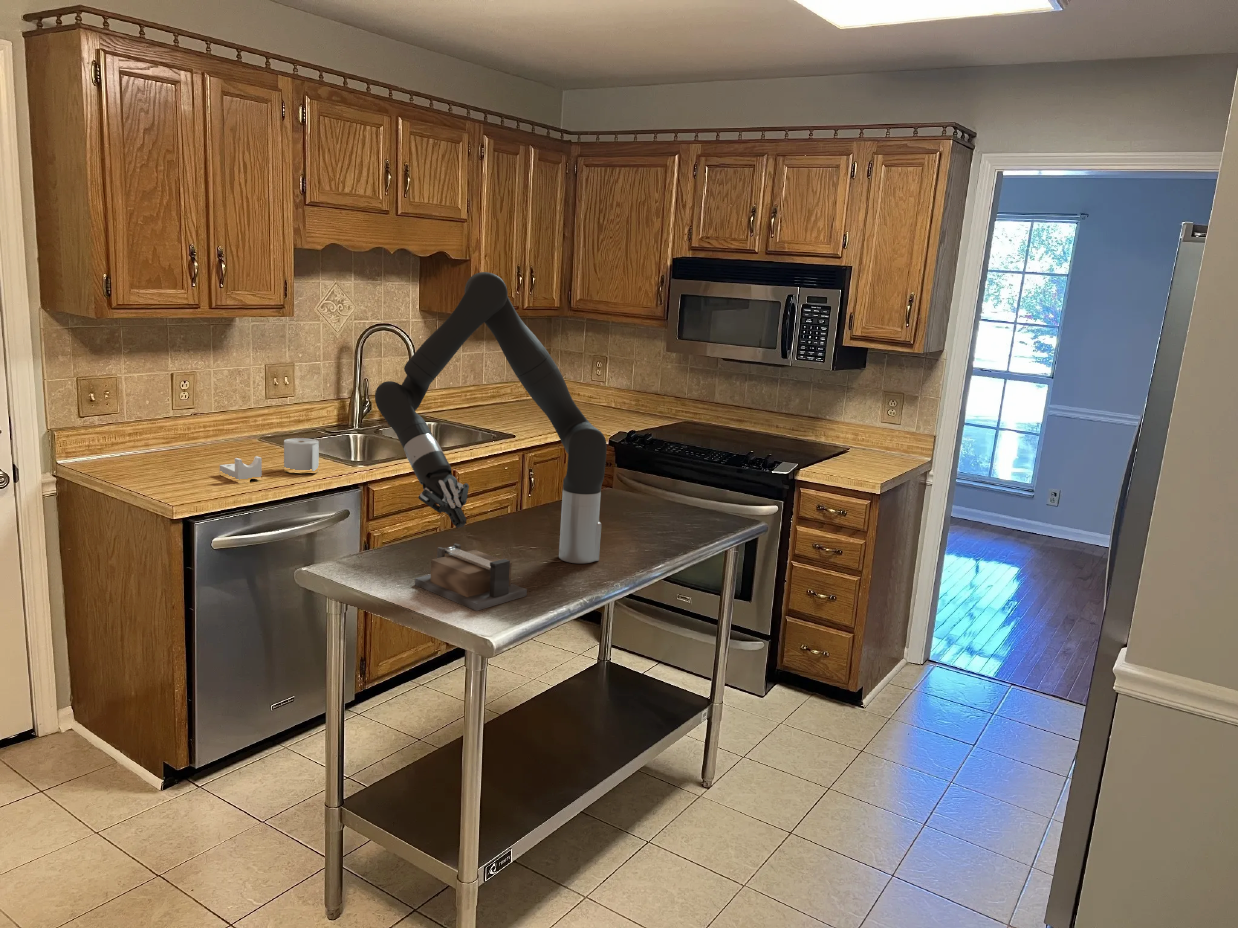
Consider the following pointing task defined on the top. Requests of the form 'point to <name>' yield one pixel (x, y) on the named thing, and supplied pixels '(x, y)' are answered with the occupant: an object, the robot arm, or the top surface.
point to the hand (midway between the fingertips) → (461, 525)
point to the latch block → (471, 580)
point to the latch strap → (468, 557)
